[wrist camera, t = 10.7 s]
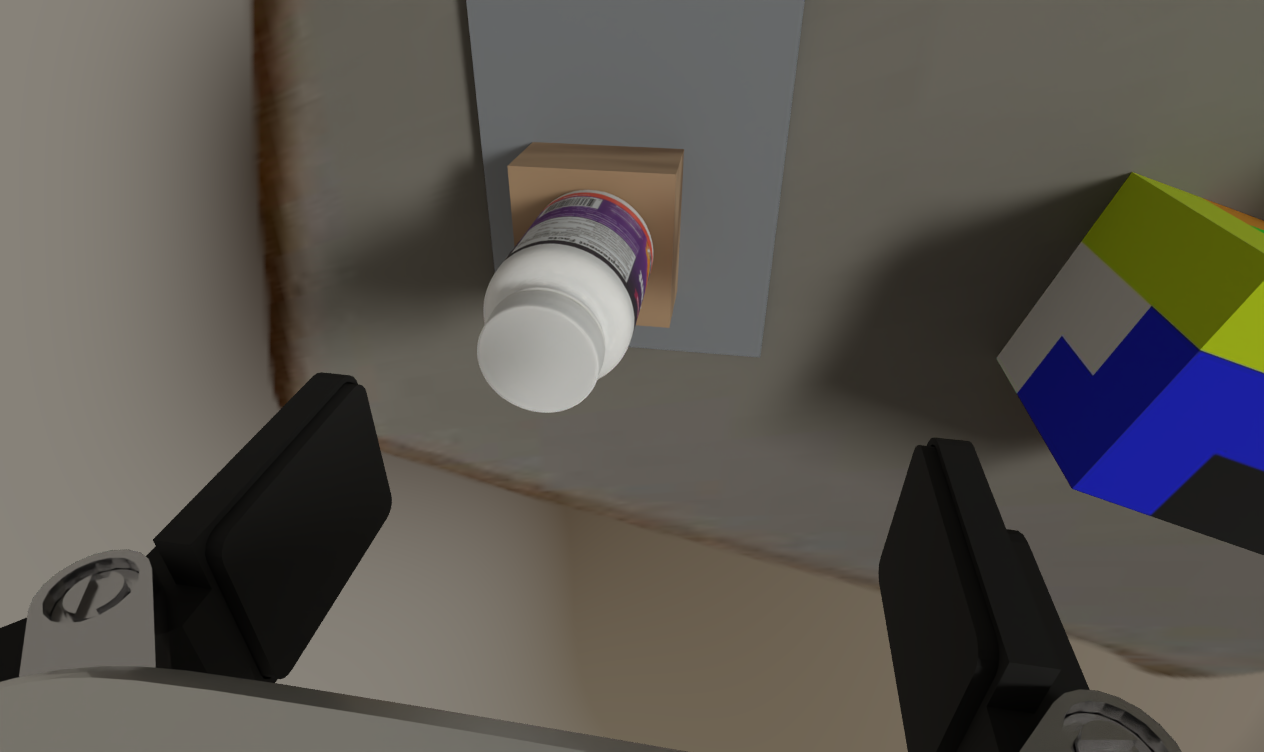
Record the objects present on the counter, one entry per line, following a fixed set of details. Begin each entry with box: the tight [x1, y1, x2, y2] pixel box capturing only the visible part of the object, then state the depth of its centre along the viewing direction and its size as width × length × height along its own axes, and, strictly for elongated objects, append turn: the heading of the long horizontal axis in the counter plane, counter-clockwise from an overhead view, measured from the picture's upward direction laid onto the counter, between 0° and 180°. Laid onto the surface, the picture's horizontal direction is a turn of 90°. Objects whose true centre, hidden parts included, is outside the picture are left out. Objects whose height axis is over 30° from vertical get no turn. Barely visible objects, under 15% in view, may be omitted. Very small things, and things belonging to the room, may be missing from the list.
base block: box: [508, 142, 684, 328], centre depth 32 cm, size 7×7×4 cm
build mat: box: [466, 0, 805, 357], centre depth 33 cm, size 18×14×1 cm
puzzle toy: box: [996, 172, 1264, 555], centre depth 29 cm, size 10×10×10 cm
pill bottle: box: [477, 190, 653, 413], centre depth 26 cm, size 5×5×10 cm
